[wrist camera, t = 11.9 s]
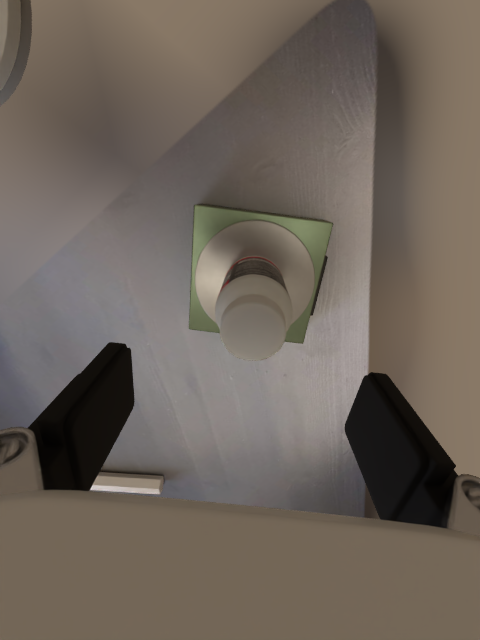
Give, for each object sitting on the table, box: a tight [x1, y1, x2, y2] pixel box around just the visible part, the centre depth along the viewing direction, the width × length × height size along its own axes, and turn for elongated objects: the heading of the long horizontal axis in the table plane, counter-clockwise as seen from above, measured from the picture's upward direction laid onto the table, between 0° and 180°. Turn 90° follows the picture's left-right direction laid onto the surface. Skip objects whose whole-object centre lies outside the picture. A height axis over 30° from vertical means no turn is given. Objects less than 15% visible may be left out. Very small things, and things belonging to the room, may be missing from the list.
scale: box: [189, 204, 333, 344], centre depth 27 cm, size 12×12×3 cm
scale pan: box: [195, 220, 315, 324], centre depth 25 cm, size 11×11×1 cm
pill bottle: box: [215, 256, 293, 361], centre depth 20 cm, size 5×5×10 cm
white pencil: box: [90, 472, 164, 494], centre depth 42 cm, size 3×2×16 cm
